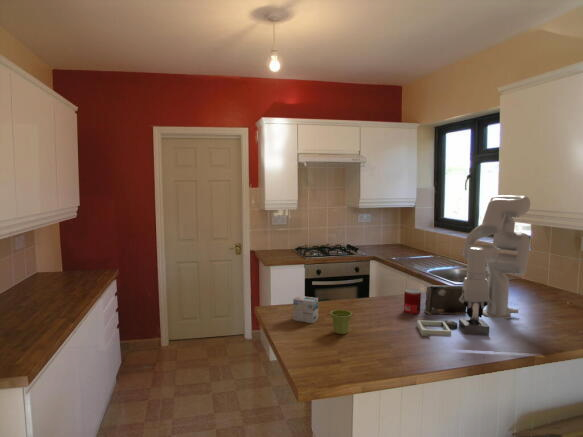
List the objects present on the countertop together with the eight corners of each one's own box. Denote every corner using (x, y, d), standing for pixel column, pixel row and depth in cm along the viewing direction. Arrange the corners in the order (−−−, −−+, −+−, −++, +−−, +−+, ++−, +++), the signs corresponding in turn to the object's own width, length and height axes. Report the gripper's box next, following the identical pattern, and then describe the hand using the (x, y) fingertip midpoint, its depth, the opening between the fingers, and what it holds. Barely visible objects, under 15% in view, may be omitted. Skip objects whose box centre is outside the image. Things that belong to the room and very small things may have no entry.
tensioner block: (481, 330, 180) (482, 319, 180) (488, 337, 171) (489, 326, 171) (458, 328, 182) (459, 318, 181) (464, 336, 173) (464, 325, 172)
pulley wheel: (454, 325, 186) (455, 319, 185) (459, 331, 179) (459, 324, 178) (439, 324, 186) (439, 318, 186) (443, 330, 180) (443, 323, 179)
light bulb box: (318, 319, 194) (318, 297, 193) (313, 323, 188) (313, 301, 187) (298, 316, 198) (298, 294, 197) (292, 320, 192) (292, 298, 191)
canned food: (420, 314, 200) (421, 293, 199) (404, 313, 202) (405, 292, 201) (419, 309, 208) (420, 289, 207) (403, 308, 209) (404, 288, 208)
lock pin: (477, 324, 178) (478, 301, 177) (479, 328, 175) (480, 303, 173) (468, 324, 179) (469, 300, 177) (471, 327, 175) (472, 303, 174)
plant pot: (326, 329, 180) (326, 311, 179) (344, 326, 184) (344, 308, 183) (336, 337, 172) (337, 317, 171) (355, 333, 175) (355, 314, 175)
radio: (464, 309, 209) (465, 281, 208) (473, 314, 201) (474, 285, 199) (421, 311, 206) (422, 282, 205) (429, 316, 198) (430, 287, 196)
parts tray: (444, 327, 184) (444, 321, 183) (450, 337, 172) (451, 331, 172) (417, 325, 185) (417, 320, 185) (422, 335, 173) (422, 329, 173)
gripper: (493, 273, 177) (491, 313, 179) (454, 273, 179) (452, 312, 181) (499, 278, 169) (497, 320, 171) (458, 277, 171) (457, 318, 173)
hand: (474, 315), depth 176 cm, fingers closed on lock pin, 3 cm apart
